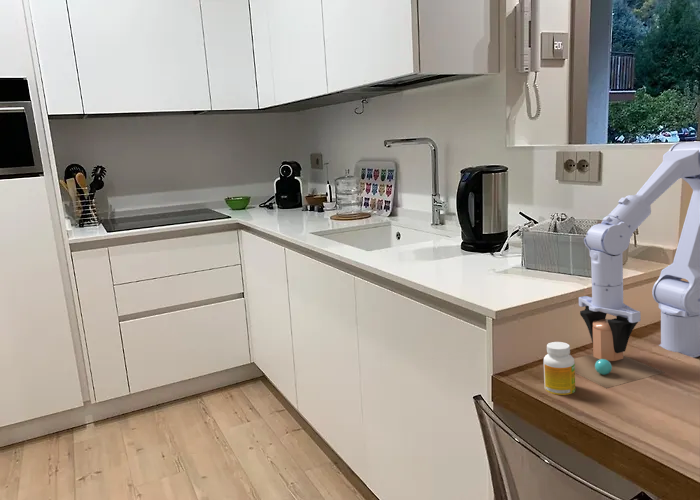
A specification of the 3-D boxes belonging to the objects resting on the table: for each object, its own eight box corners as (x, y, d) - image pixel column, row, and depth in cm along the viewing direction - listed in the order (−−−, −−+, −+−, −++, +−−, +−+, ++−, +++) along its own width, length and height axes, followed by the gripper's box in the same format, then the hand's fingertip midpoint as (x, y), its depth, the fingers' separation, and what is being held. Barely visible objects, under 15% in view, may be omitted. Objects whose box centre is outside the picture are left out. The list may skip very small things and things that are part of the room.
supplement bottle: (578, 401, 97) (576, 350, 95) (547, 401, 98) (545, 350, 97) (572, 388, 102) (570, 339, 101) (542, 388, 103) (540, 340, 102)
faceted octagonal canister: (608, 348, 114) (607, 317, 112) (629, 357, 108) (628, 324, 107) (587, 354, 112) (586, 322, 111) (607, 362, 107) (606, 329, 106)
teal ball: (603, 369, 106) (603, 355, 105) (615, 375, 103) (615, 360, 103) (591, 373, 105) (591, 358, 105) (603, 378, 102) (602, 363, 102)
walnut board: (609, 355, 116) (609, 349, 115) (665, 378, 102) (665, 372, 102) (555, 368, 112) (555, 363, 111) (606, 394, 98) (606, 388, 98)
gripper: (566, 279, 113) (568, 340, 116) (619, 293, 100) (620, 362, 102) (593, 274, 115) (594, 334, 118) (649, 287, 102) (649, 355, 104)
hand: (608, 347), depth 110 cm, fingers closed on faceted octagonal canister, 5 cm apart
